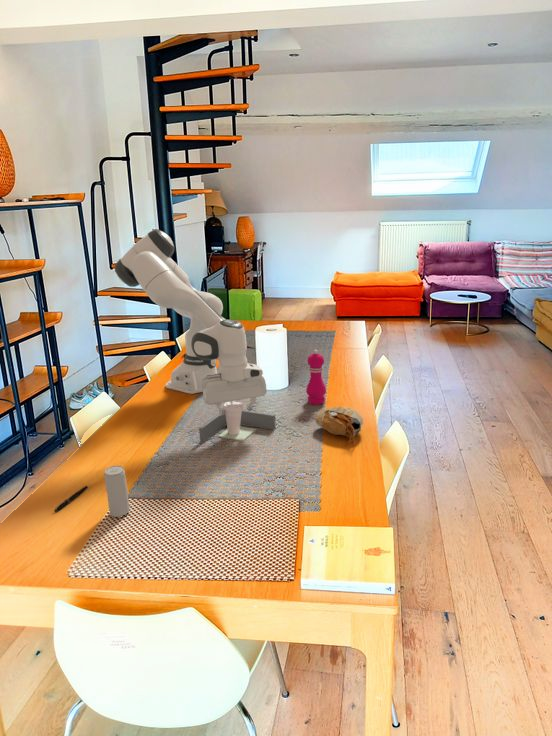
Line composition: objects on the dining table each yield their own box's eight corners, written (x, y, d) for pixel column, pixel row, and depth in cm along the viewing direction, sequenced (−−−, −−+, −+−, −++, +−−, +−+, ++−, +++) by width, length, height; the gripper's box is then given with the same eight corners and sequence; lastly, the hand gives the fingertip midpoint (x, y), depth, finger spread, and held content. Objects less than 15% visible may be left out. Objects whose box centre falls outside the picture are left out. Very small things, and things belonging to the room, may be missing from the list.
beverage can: (112, 508, 141) (106, 466, 137) (131, 507, 141) (126, 464, 138) (108, 519, 137) (102, 475, 133) (128, 517, 137) (122, 474, 133)
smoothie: (229, 427, 185) (227, 387, 181) (246, 429, 183) (246, 390, 179) (220, 435, 180) (219, 394, 175) (238, 438, 177) (238, 397, 173)
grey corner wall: (200, 442, 176) (199, 427, 175) (228, 420, 192) (227, 407, 190) (250, 451, 169) (250, 436, 167) (275, 428, 184) (275, 414, 183)
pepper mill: (324, 405, 202) (324, 352, 196) (305, 404, 203) (304, 352, 197) (327, 398, 209) (326, 347, 202) (308, 397, 210) (307, 346, 204)
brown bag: (372, 450, 168) (323, 455, 168) (357, 418, 188) (313, 422, 188) (372, 427, 165) (321, 432, 165) (357, 397, 185) (312, 401, 185)
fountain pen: (89, 485, 153) (88, 480, 152) (92, 486, 153) (91, 481, 152) (52, 513, 140) (51, 508, 140) (56, 514, 140) (55, 509, 139)
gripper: (203, 379, 169) (206, 421, 173) (267, 369, 175) (269, 410, 180) (199, 373, 175) (202, 414, 179) (260, 364, 181) (262, 403, 185)
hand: (236, 412), depth 179 cm, fingers open, 8 cm apart
